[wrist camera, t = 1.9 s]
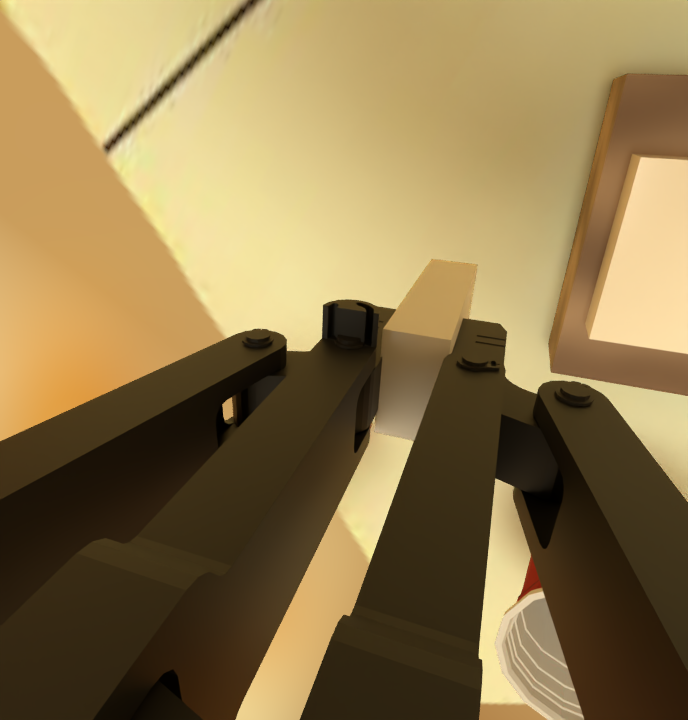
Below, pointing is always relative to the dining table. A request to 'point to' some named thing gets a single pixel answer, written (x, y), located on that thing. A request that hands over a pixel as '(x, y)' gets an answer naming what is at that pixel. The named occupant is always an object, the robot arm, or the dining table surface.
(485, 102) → the dining table surface
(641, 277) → the tile
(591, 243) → the brown block
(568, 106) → the dining table surface
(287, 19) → the dining table surface
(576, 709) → the plastic cup
